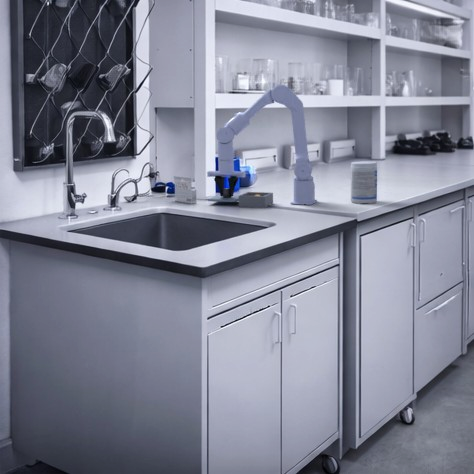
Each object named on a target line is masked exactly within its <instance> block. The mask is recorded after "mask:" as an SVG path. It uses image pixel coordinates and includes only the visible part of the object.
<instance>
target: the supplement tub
mask: <svg viewBox="0 0 474 474" xmlns="http://www.w3.org/2000/svg"><path fill="white" fill-rule="evenodd" d="M377 163H378V162H376V161H368V160H367V161H353V162H351V163H350V201H351V203H352V204H353V203H354V204H357V203H368V204H373V203H374V202H375V203H376V202H377V200H378V165H377Z"/></svg>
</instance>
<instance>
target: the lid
mask: <svg viewBox="0 0 474 474" xmlns="http://www.w3.org/2000/svg"><path fill="white" fill-rule="evenodd" d="M239 195H240V194H239ZM239 195H235V194H233V196H232V197H230V196H229V188H228V187H226V188H225V187H224V189H223V196H220V194H217V195H215V196H212V197H210V198H207V201H208V202H216V203H217V202H221V203H224V202H225V203H237V202H239Z"/></svg>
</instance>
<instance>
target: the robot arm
mask: <svg viewBox="0 0 474 474" xmlns="http://www.w3.org/2000/svg"><path fill="white" fill-rule="evenodd" d="M275 103H278V104H281V105H283V106H284V107H286V108H287V109H288V110H290V114H291V124H292V133H293V142H294V143H293V144H294V152H295V166H294V170H293V171H294V172H293V173H294V175H295V176H294V177H293V201H291V202H290V205H304V204H306V205H308V206H309V205H310V206H312V205H313V204H315V203H316V202H318V199H316V198H315V194H316V191H315V188H316V186H315V182H314V177H313V176H312V171H313V165H312V163H311V161H310V158H309V156H310V155H309V150H308V143H307V142H308V141H307V139H308V138H307V131H306V130H307V129H306V122H305V121H306V118H305V113H304V112H305V111H304V103H303V101H302V100H301V99H300V98H299V97H298V96H297V94H296V93H295V91H294V90H293V89H292V88H290V87H288V86H287V85H285V84H277V85H275V86H274V87H272V89H269V90H267V92H265V93H263V94H262V95H261V96H259V98H258V99H257V100H255V102H254V103H253V104H251V106H250V107H249V108H247V109H246V110H245V111H244V112H238V113H234V114H233V117H232V118H231V119H229V121H227V122H225V123H223V127H220V128H219V129H218V131H217V132H216V140H217V141H218V142H217V145H218V146H217V158H218V159H217V161H218V162H217V163H218V170H212V171H211V170H208V171H207V172H206V174H207V177H209V178H210V177H212V178H213V179H214V182H215V184H216V185H217V188H218V191H219V195H220V196H223V189H224V188H225V180H226V178H227V181H228V187H229V196H230V197H232V196H233V195H234V194H235V193H234V192H235V188H236V185H237V184H238V183H237V182H238V181H239V178H243V179H244V178H246V177H247V176H246V171H239V170H238V171H236V170H235V167H234V166H235V162H234V157H235V156H234V147H233V146H234V139H235V136H238V135H239V134H240V133H241V132H242V131H244V129H246V128H247V127H248V126H249V125H250V120H251V119H252V118H253V117H254V116H255V115H256V114H257V113H259V112H260V111H261V110H263V108H265V107H266V106H268V105H272V104H275Z"/></svg>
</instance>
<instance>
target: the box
mask: <svg viewBox="0 0 474 474" xmlns="http://www.w3.org/2000/svg"><path fill="white" fill-rule="evenodd" d="M255 195H260V196H255ZM272 203H273V204H274V192H263V191H246V192H244V193H243V194H239V201H238V207H241V208H261V209H263V208H264V209H265V208H268V207H269V206H271V205H273V204H272ZM270 204H271V205H270ZM268 205H269V206H268Z"/></svg>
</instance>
